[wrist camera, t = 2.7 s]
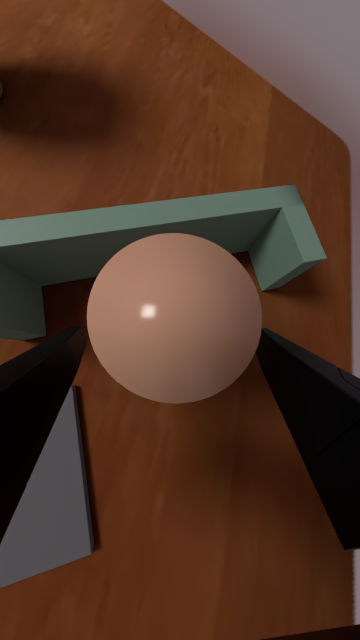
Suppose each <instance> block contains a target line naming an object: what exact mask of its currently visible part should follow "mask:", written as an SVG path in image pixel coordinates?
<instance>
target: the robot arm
mask: <svg viewBox="0 0 360 640" xmlns="http://www.w3.org/2000/svg"><path fill="white" fill-rule="evenodd" d="M85 346H86V338H85V335H84V332H83V329H82V328H81V327H71V328H69V329H67V330H65V331H64V332H62V333H60V334H58V335H56V336H54V337H52V338H50V339H49V340H47V341H45V342H43V343H41V344H39V345H37V346H35V347H34V348H32V349H30V350H28V351H26V352H24V353H22V354H21V355H19V356H17V357H15V358H13V359H11V360H9V361H7V362H6V363H4V364H2V365H0V544H1V542H2V540H3V537H4V535H5V533H6V531H7V528H8V526H9V524H10V522H11V519H12V517H13V515H14V513H15V511H16V508H17V506H18V504H19V502H20V499H21V497H22V495H23V493H24V490H25V488H26V486H27V483H28V481H29V479H30V477H31V474H32V472H33V470H34V468H35V465H36V463H37V461H38V459H39V456H40V454H41V452H42V450H43V448H44V445H45V443H46V441H47V439H48V436H49V434H50V432H51V430H52V427H53V425H54V423H55V421H56V418H57V416H58V414H59V412H60V409H61V407H62V405H63V403H64V401H65V398H66V396H67V394H68V392H69V389H70V387H71V385H72V383H73V380H74V378H75V376H76V374H77V371H78V368H79V365H80V362H81V359H82V355H83V352H84V349H85ZM256 354H257V357H258V360H259V363H260V366H261V369H262V371H263V373H264V376H265V378H266V380H267V382H268V384H269V387H270V389H271V391H272V393H273V395H274V398H275V400H276V402H277V404H278V406H279V409H280V411H281V413H282V415H283V417H284V419H285V422H286V424H287V426H288V428H289V430H290V433H291V435H292V437H293V439H294V441H295V444H296V446H297V448H298V450H299V452H300V455H301V457H302V459H303V461H304V463H305V465H306V468H307V470H308V472H309V475H310V477H311V479H312V481H313V483H314V486H315V488H316V490H317V492H318V494H319V496H320V499H321V501H322V503H323V505H324V507H325V510H326V512H327V514H328V516H329V518H330V521H331V523H332V525H333V527H334V529H335V532H336V534H337V536H338V538H339V540H340V542H341V544H342V546H343V548H344V550H345V551H347V550H356V549H360V379H359V378H357V377H356V376H354V375H352V374H350V373H348V372H346V371H344V370H343V369H341V368H339V367H337V366H335V365H333V364H331V363H330V362H328V361H326V360H324V359H322V358H320V357H318V356H317V355H315V354H313V353H311V352H309V351H307V350H306V349H304V348H302V347H300V346H298V345H296V344H294V343H293V342H291V341H289V340H287V339H285V338H283V337H282V336H280V335H278V334H276V333H274V332H272V331H270V330H269V329H267V328H261V336H260V340H259V344H258V347H257V349H256ZM261 640H360V624H359V625H352V626H346V627H339V628H333V629H326V630H320V631H313V632H307V633H300V634H293V635H287V636H280V637H274V638H267V639H261Z"/></svg>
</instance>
